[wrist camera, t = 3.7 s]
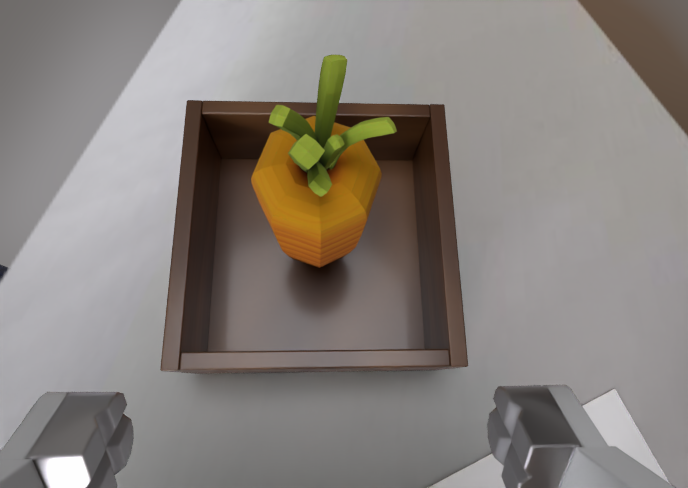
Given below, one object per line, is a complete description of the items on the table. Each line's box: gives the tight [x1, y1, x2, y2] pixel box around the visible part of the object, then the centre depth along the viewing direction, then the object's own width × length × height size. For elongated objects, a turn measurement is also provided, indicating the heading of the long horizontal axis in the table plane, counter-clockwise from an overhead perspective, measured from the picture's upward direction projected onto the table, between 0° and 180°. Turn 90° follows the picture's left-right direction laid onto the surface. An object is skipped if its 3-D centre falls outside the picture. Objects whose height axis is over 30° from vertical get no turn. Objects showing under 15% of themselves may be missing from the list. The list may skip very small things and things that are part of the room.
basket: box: [161, 100, 468, 374], centre depth 25 cm, size 14×14×6 cm
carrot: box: [251, 55, 397, 268], centre depth 20 cm, size 5×5×15 cm
